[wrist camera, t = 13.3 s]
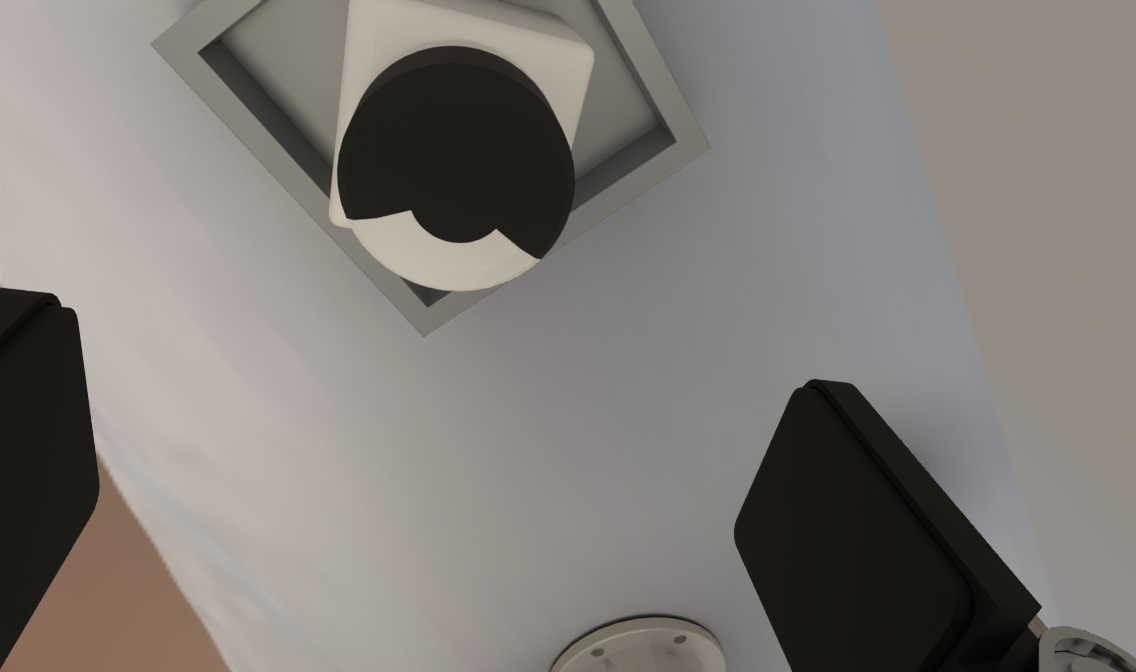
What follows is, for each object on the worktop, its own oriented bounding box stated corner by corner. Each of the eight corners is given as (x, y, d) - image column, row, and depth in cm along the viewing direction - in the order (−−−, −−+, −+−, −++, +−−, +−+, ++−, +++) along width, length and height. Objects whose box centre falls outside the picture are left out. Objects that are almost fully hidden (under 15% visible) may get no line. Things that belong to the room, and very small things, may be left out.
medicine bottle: (373, -34, 25) (321, 6, 15) (566, 17, 27) (635, 84, 17) (352, 160, 29) (297, 299, 19) (525, 194, 30) (562, 339, 20)
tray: (685, 124, 31) (711, 148, 28) (425, 298, 33) (423, 337, 30) (494, -226, 24) (500, -245, 21) (183, 28, 26) (149, 43, 23)
